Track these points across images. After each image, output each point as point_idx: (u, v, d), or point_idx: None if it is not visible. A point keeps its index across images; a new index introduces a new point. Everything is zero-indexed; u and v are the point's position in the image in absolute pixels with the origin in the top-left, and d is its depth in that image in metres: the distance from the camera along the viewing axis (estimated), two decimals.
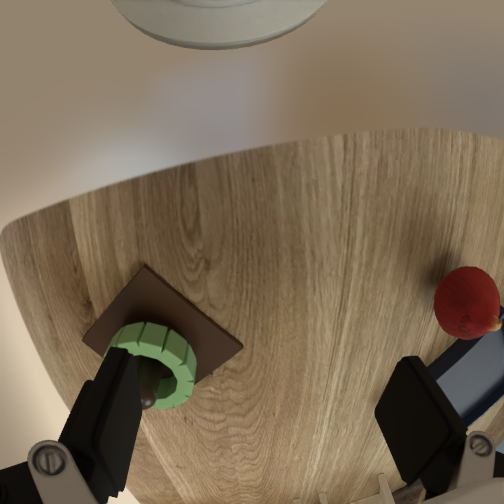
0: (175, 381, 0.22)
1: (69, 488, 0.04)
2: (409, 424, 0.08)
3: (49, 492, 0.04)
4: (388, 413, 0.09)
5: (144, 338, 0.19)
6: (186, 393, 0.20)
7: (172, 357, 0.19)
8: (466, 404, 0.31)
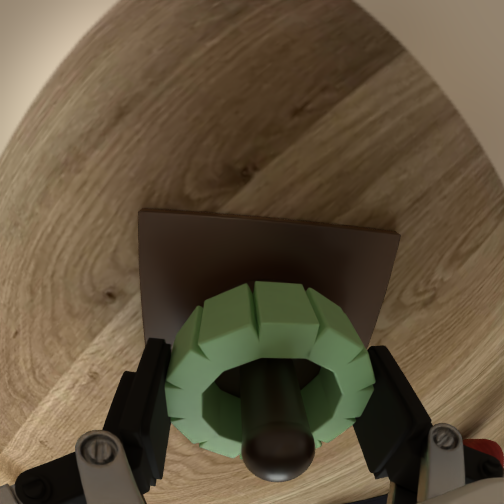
0: None
1: (114, 479, 0.05)
2: (374, 414, 0.08)
3: (92, 480, 0.04)
4: None
5: None
6: None
7: (362, 404, 0.09)
8: None
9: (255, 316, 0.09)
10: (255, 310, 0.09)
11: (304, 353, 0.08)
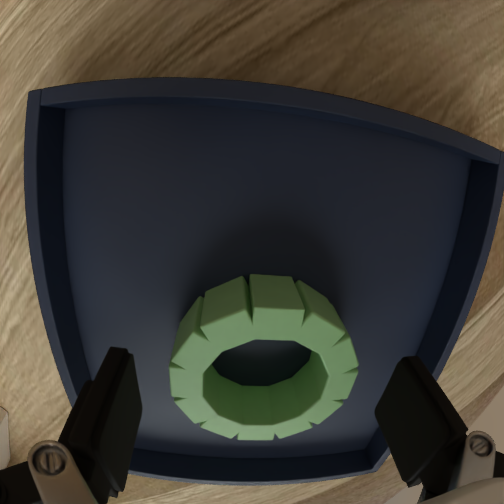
0: (264, 403, 0.12)
1: (69, 488, 0.04)
2: (409, 424, 0.08)
3: (49, 492, 0.04)
4: (388, 413, 0.09)
5: None
6: (282, 433, 0.11)
7: (348, 386, 0.11)
8: None
9: (249, 303, 0.10)
10: (250, 298, 0.10)
11: (292, 335, 0.09)
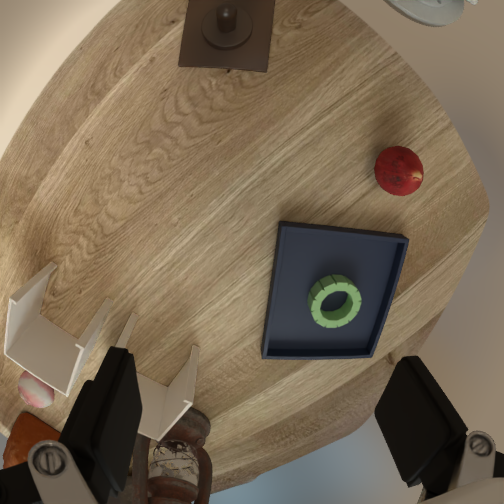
0: (333, 315, 0.41)
1: (69, 488, 0.04)
2: (409, 424, 0.08)
3: (49, 492, 0.04)
4: (388, 413, 0.09)
5: (358, 290, 0.38)
6: (339, 324, 0.40)
7: (358, 306, 0.39)
8: (320, 328, 0.42)
9: (334, 282, 0.38)
10: None
11: (345, 289, 0.38)
